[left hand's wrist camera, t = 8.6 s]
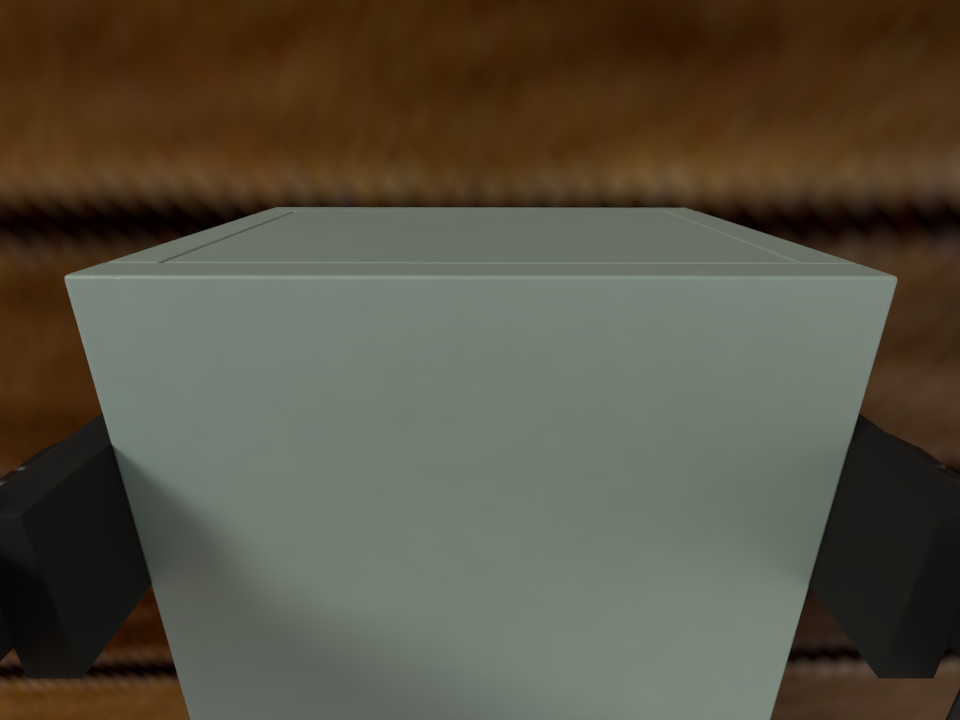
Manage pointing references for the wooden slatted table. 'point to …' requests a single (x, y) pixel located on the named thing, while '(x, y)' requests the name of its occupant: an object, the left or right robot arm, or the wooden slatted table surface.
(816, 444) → the cabinet
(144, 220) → the wooden slatted table surface
